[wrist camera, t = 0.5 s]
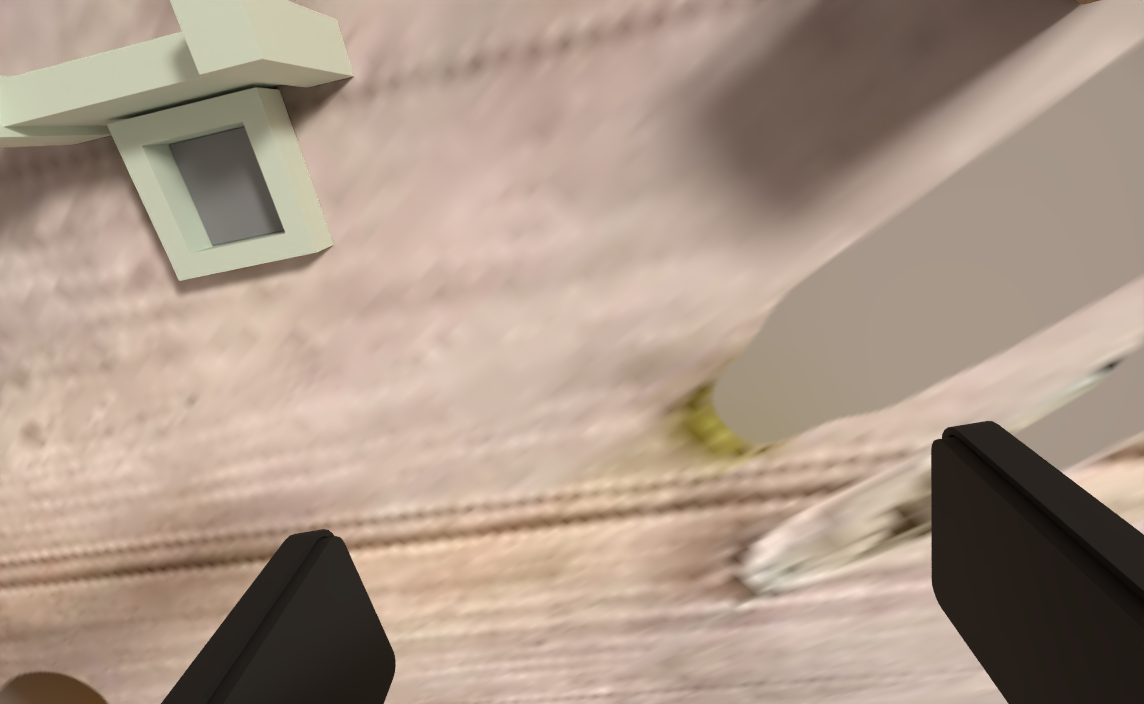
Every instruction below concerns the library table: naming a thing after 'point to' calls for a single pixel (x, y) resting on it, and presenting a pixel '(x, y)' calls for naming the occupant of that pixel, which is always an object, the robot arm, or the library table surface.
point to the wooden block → (1085, 1)
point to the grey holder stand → (199, 126)
